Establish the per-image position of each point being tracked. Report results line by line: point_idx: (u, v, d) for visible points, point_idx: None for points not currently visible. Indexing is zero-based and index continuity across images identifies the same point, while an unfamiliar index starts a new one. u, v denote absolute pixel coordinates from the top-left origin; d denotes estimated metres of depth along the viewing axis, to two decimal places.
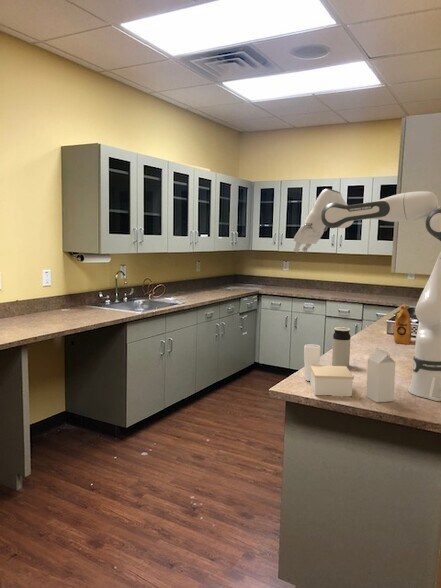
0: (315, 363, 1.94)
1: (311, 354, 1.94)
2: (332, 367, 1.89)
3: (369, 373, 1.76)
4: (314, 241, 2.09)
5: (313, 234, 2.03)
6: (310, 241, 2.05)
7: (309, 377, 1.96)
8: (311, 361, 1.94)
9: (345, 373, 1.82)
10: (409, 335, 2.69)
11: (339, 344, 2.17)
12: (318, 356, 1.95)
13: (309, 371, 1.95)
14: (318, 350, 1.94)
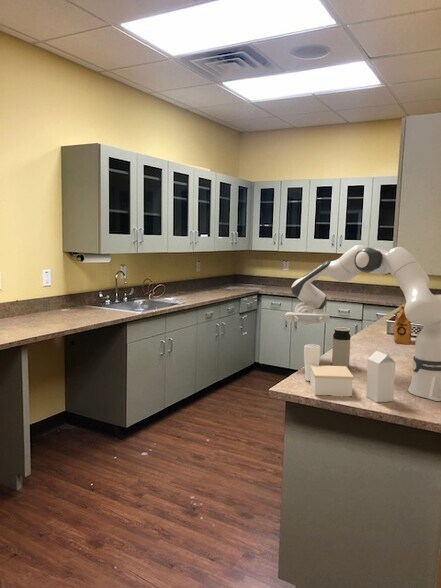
0: (315, 363, 1.94)
1: (311, 354, 1.94)
2: (332, 367, 1.89)
3: (369, 373, 1.76)
4: (319, 314, 2.15)
5: (308, 313, 2.18)
6: (309, 314, 2.15)
7: (309, 377, 1.96)
8: (311, 361, 1.94)
9: (345, 373, 1.82)
10: (409, 335, 2.69)
11: (339, 344, 2.17)
12: (318, 356, 1.95)
13: (309, 371, 1.95)
14: (318, 350, 1.94)
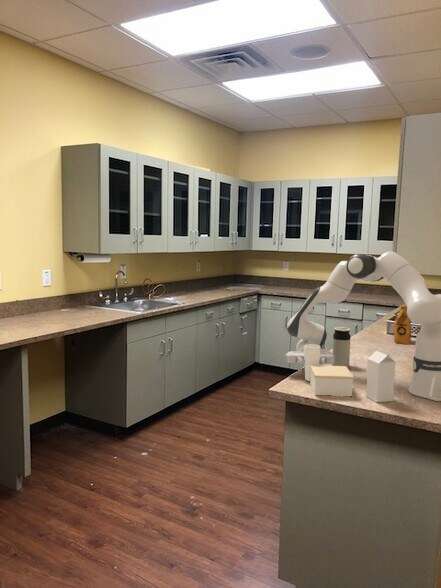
0: (315, 363, 1.94)
1: (311, 354, 1.94)
2: (332, 367, 1.89)
3: (369, 373, 1.76)
4: (323, 355, 2.02)
5: None
6: None
7: (309, 377, 1.96)
8: (311, 361, 1.94)
9: (345, 373, 1.82)
10: (409, 335, 2.69)
11: (339, 344, 2.17)
12: (318, 356, 1.95)
13: (309, 371, 1.95)
14: (318, 350, 1.94)
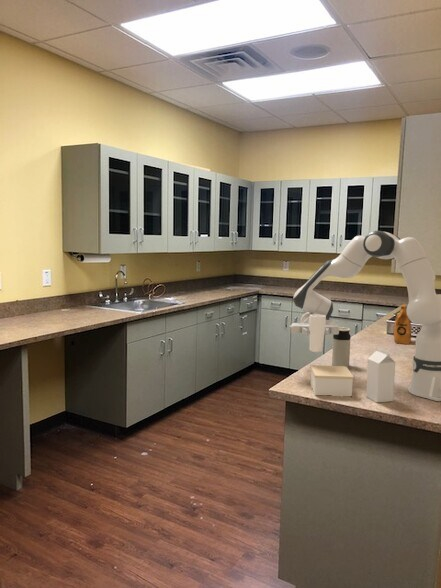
0: (320, 333, 1.90)
1: (316, 323, 1.90)
2: (332, 367, 1.89)
3: (369, 373, 1.76)
4: (328, 325, 1.98)
5: None
6: None
7: (314, 347, 1.92)
8: (316, 331, 1.90)
9: (345, 373, 1.82)
10: (409, 335, 2.69)
11: (339, 344, 2.17)
12: (323, 326, 1.90)
13: (314, 341, 1.91)
14: (323, 319, 1.90)
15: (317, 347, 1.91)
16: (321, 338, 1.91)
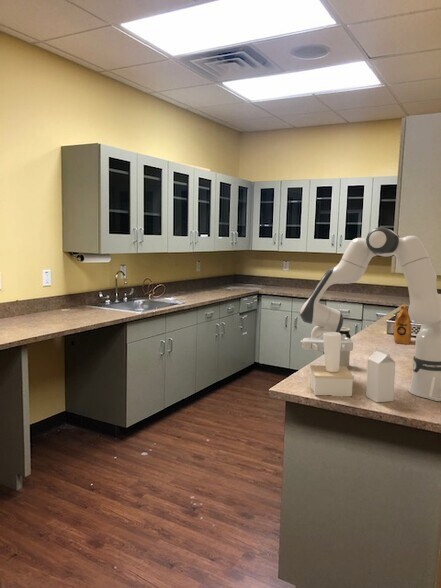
0: (336, 352, 1.80)
1: (331, 342, 1.79)
2: None
3: (369, 373, 1.76)
4: (341, 341, 1.88)
5: None
6: None
7: (330, 367, 1.82)
8: (331, 350, 1.80)
9: (345, 373, 1.82)
10: (409, 335, 2.69)
11: None
12: (339, 344, 1.80)
13: (330, 361, 1.81)
14: (339, 338, 1.80)
15: (333, 367, 1.81)
16: (337, 357, 1.81)
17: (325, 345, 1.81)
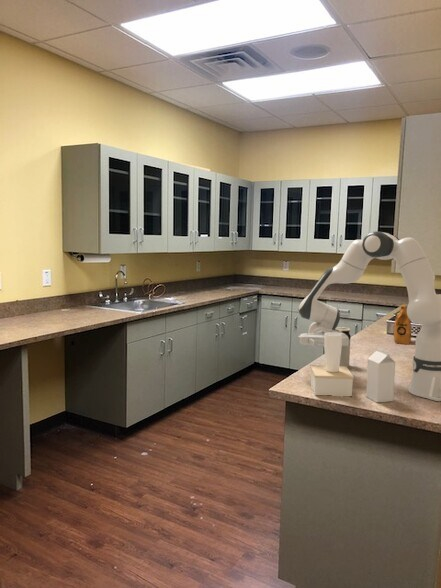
0: (337, 352, 1.80)
1: (332, 343, 1.79)
2: None
3: (369, 373, 1.76)
4: None
5: (324, 335, 1.99)
6: None
7: (330, 367, 1.82)
8: (332, 350, 1.80)
9: (345, 373, 1.82)
10: (409, 335, 2.69)
11: None
12: (340, 345, 1.80)
13: (330, 361, 1.81)
14: (340, 338, 1.80)
15: (333, 368, 1.81)
16: (338, 358, 1.81)
17: (326, 345, 1.81)
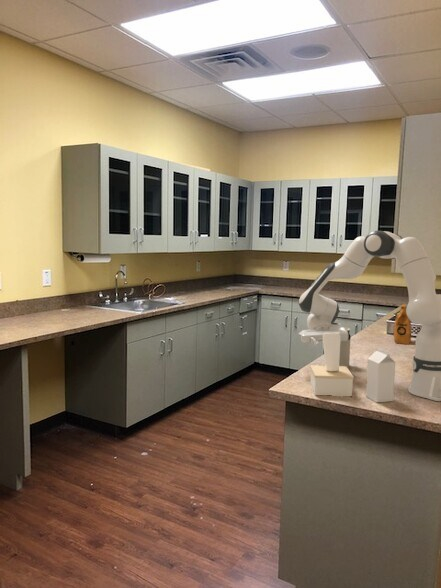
0: (335, 351, 1.81)
1: (331, 341, 1.80)
2: None
3: (368, 373, 1.76)
4: None
5: (324, 331, 2.04)
6: None
7: (330, 366, 1.82)
8: (331, 349, 1.81)
9: (345, 373, 1.82)
10: (409, 335, 2.69)
11: None
12: (338, 343, 1.81)
13: (330, 360, 1.81)
14: (338, 336, 1.81)
15: (333, 366, 1.81)
16: (337, 356, 1.81)
17: (324, 344, 1.82)
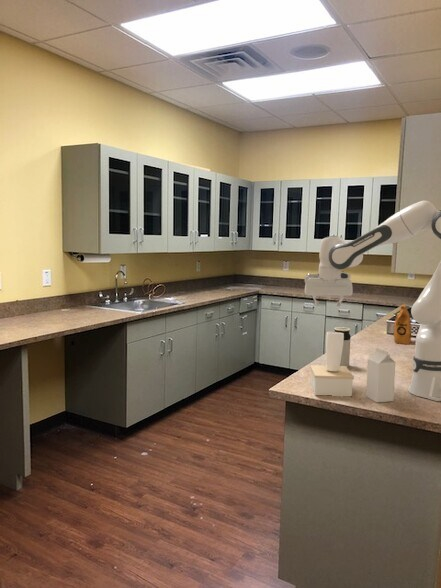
0: (337, 351, 1.81)
1: (333, 341, 1.80)
2: None
3: (368, 373, 1.76)
4: (342, 292, 1.99)
5: (330, 284, 1.99)
6: (331, 292, 1.99)
7: (330, 366, 1.82)
8: (333, 349, 1.81)
9: (345, 373, 1.82)
10: (409, 335, 2.69)
11: None
12: (341, 343, 1.81)
13: (331, 359, 1.82)
14: (341, 337, 1.81)
15: (333, 366, 1.81)
16: (338, 357, 1.81)
17: (327, 343, 1.82)
